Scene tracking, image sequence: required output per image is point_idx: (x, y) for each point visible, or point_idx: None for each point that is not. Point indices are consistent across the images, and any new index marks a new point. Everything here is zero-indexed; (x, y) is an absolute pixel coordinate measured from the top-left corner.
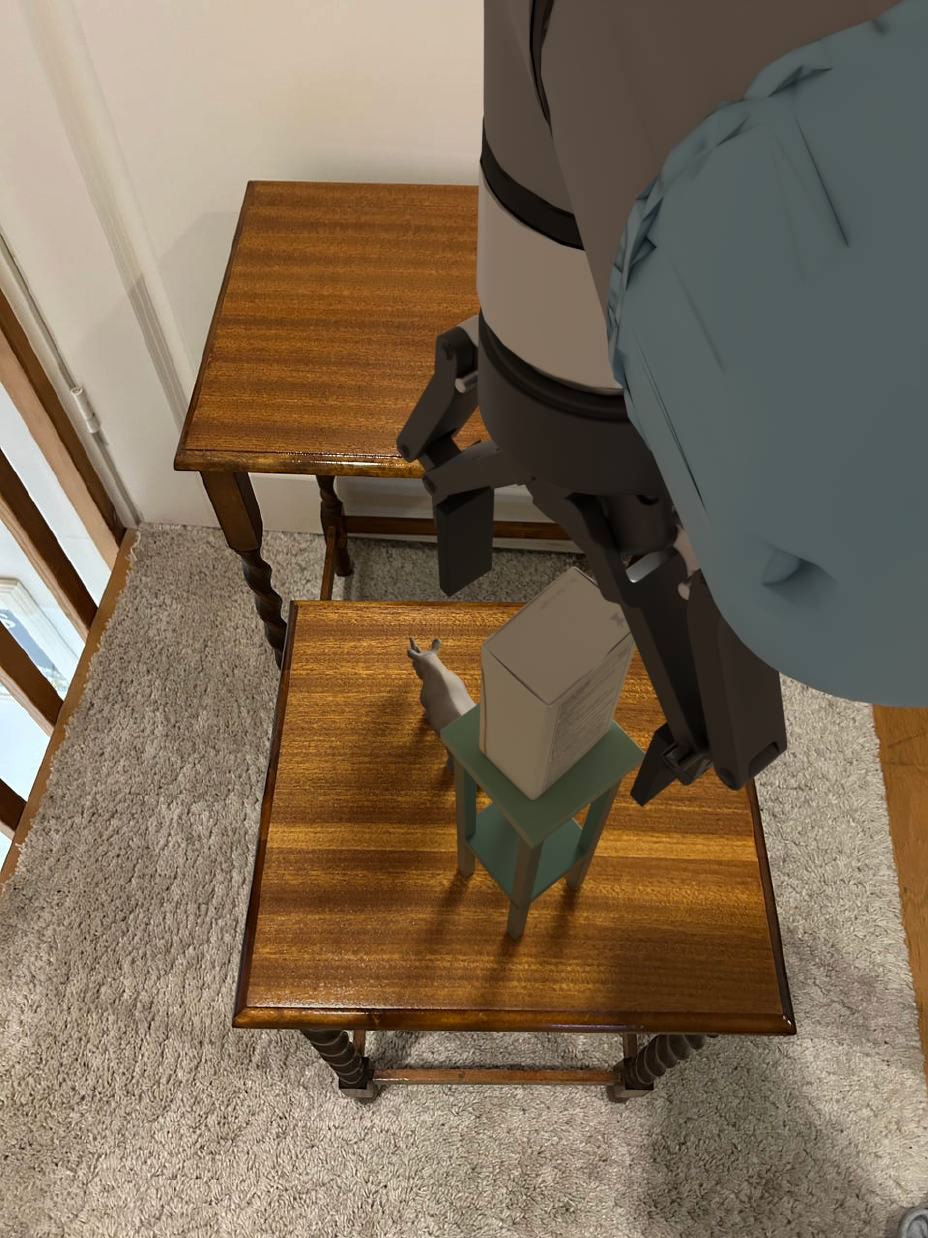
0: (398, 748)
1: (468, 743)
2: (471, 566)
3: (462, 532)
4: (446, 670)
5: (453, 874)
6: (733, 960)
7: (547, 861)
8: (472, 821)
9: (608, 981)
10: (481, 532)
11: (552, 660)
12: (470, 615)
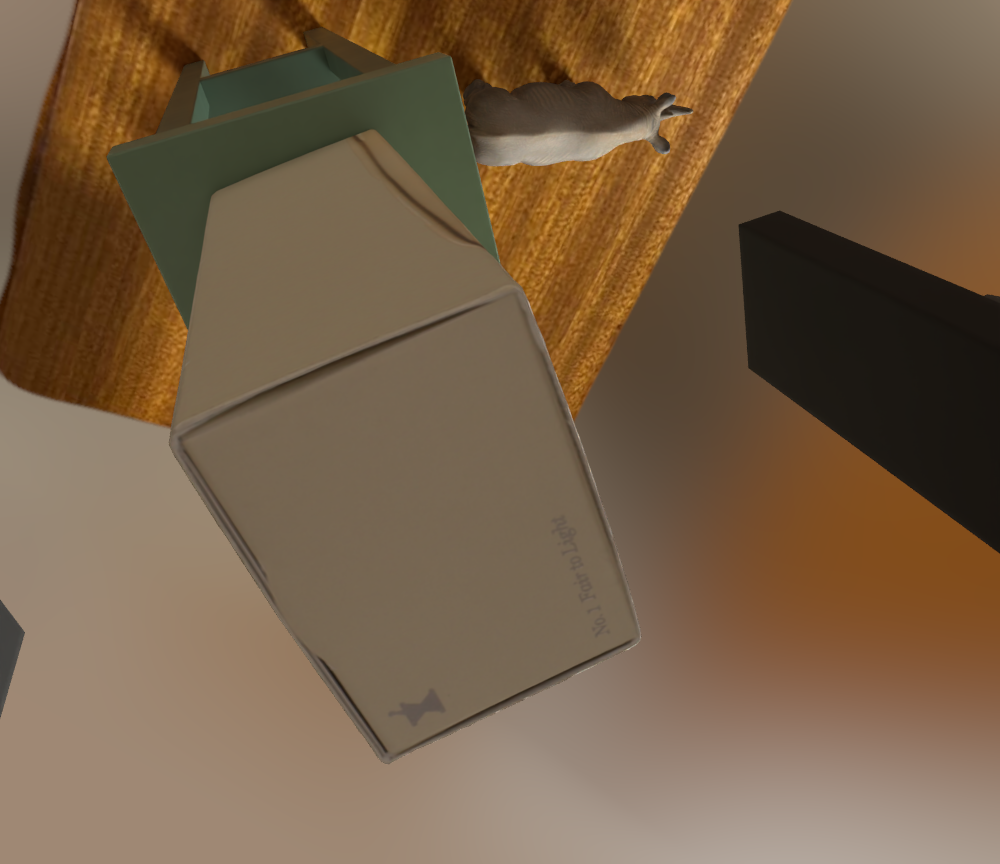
0: (539, 16)
1: (396, 109)
2: (792, 333)
3: (943, 390)
4: (615, 143)
5: (315, 15)
6: (74, 355)
7: None
8: (336, 69)
9: (85, 178)
10: (888, 429)
11: (358, 500)
12: (677, 213)
